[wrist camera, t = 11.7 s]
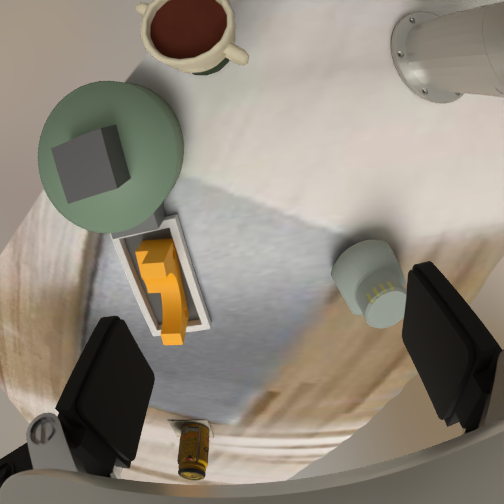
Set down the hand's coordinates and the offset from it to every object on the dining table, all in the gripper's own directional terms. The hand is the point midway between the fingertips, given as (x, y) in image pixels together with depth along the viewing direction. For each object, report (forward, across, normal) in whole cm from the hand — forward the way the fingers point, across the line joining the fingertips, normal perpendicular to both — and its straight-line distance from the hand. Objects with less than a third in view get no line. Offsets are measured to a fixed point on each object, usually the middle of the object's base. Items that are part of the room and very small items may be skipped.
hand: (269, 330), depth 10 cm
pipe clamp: (+28, +15, +13) cm, 35 cm away
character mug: (+29, +3, -14) cm, 32 cm away
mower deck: (+28, +16, +4) cm, 33 cm away
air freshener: (+29, -12, +18) cm, 36 cm away
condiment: (+28, +24, +50) cm, 62 cm away
